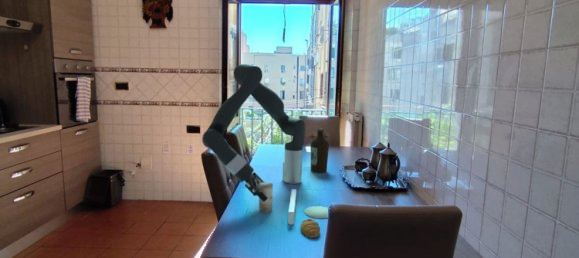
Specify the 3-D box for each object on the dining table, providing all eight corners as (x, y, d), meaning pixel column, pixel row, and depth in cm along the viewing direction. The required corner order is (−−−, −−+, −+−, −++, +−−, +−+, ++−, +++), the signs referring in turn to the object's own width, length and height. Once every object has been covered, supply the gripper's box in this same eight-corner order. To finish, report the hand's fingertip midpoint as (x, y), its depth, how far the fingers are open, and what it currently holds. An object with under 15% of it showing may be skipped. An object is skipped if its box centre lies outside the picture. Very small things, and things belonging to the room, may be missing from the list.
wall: (291, 200, 161) (291, 189, 160) (295, 200, 161) (296, 189, 160) (288, 224, 135) (288, 211, 135) (293, 224, 135) (293, 212, 135)
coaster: (298, 211, 148) (298, 210, 148) (318, 205, 156) (318, 204, 156) (319, 221, 139) (319, 220, 139) (340, 213, 147) (340, 212, 147)
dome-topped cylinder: (256, 209, 149) (256, 183, 147) (266, 206, 153) (267, 181, 151) (264, 213, 145) (264, 187, 143) (275, 210, 149) (275, 184, 147)
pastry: (323, 238, 125) (324, 228, 125) (304, 240, 124) (305, 229, 123) (316, 227, 134) (316, 217, 134) (298, 228, 133) (299, 218, 132)
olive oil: (321, 167, 217) (323, 126, 213) (331, 172, 208) (333, 129, 204) (306, 169, 212) (307, 127, 208) (315, 174, 203) (317, 130, 199)
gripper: (243, 166, 139) (271, 196, 140) (249, 157, 153) (275, 185, 154) (229, 179, 140) (258, 208, 141) (236, 169, 154) (262, 196, 155)
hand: (267, 196), depth 148 cm, fingers open, 8 cm apart
